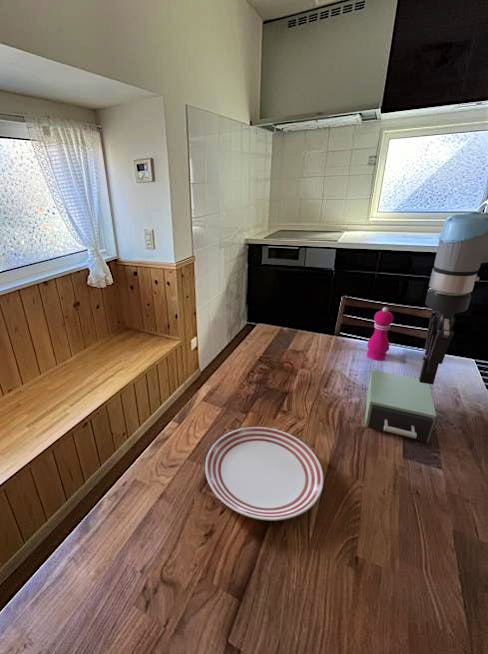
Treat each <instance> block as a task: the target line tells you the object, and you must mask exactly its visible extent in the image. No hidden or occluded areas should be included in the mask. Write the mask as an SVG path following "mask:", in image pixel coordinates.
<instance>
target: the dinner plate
mask: <svg viewBox="0 0 488 654" xmlns="http://www.w3.org/2000/svg"><path fill="white" fill-rule="evenodd" d="M204 471H205V476H206V480H207V482H208V483H207V484H208V485H209V487H210V489H211V491H212V492H213V493H214V495H215V496H216V498H218V500H220V501H221V502H222V503H223V504H224V505H225V506H227V508H229V509H231V510H232V511H234V512H236V513H238V514H240V515H241V516H245V517H248V518H250V519H255V520H259V521H260V520H261V521H271V522H272V521H284V520H285V521H286V520H288V519H292V518H295V517H298V516H301V515H302V514H304V513H306V512H307V511H309V510H310V509H311V508H312V507H313V506H314V505H315V504H316V503H317V502H318V500H319V498H320V496H321V494H322V492H323V487H324V473H323V472H324V471H323V467H322V465H321V463H320V461H319V459H318V457H317V456H316V454H315V453H314V452H313V450H312V449H311V448H310V447H309V446H308V445H307V444H305V443H304V442H303V441H302V440H301V439H299V438H297V437H295V436H294V435H292V434H290V433H288V432H285V431H283V430H279V429H276V428H272V427H265V426H248V427H241V428H238V429H235V430H232V431H230V432H227V433H226V434H224V435H222V436H221V437H220V438H218V439H217V440H216V441H215V442H214V443H213V444H212V446H211V447H210V448H209V451H208V453H207V455H206V459H205V464H204Z"/></svg>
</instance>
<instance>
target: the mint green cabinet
mask: <svg viewBox="0 0 488 654" xmlns="http://www.w3.org/2000/svg"><path fill="white" fill-rule="evenodd" d="M419 378H420V377H419ZM419 378H418V377H413V376H407V375H403V374H396V373H391V372H385V371H382V370H381V371H380V370H376V369H375V370H374V369H371V371H370V375H369V381H368V385H367V389H366V390H367V391H366V399H365V401H366V402H365V403H366V404H365V421H364V427H365V428H368V422H369V417H370V412H371V408H372V405H376V406H381V407H385V408H390V409H394V410H399V411H403V412H408V413H412V414H417V415H421V416H426V417H428V418H433V424H432V427H431V430H430V433H429V437H428V440H427V442H426V443H429V440H430V438H431V434H432V432H433V428H434V425H435V422H436V418H437V413H436V408H435V403H434V398H433V393H432V389H431V384H426V383H421V382H420V381H419Z"/></svg>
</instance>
